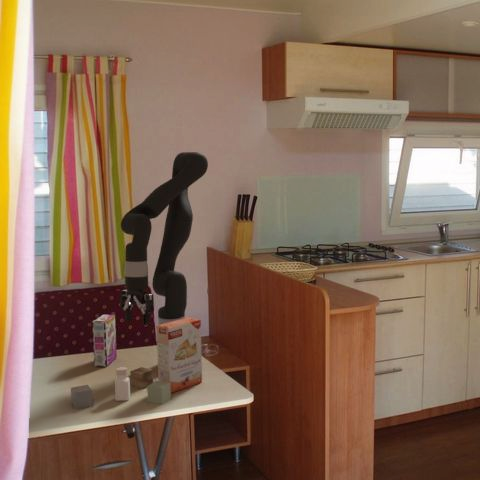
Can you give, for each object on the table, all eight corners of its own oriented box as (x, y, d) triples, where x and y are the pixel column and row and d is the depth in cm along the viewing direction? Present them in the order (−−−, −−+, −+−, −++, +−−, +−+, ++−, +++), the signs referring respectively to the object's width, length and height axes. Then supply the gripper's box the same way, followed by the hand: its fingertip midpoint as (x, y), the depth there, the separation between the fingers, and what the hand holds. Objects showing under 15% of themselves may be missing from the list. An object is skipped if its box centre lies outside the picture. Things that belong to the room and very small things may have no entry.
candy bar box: (107, 367, 232) (105, 321, 230) (93, 367, 233) (91, 321, 231) (117, 357, 243) (115, 314, 241) (104, 357, 244) (102, 313, 242)
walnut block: (142, 381, 216) (141, 367, 216) (153, 384, 213) (152, 369, 213) (131, 386, 212) (130, 371, 212) (142, 389, 209) (141, 373, 209)
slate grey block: (88, 400, 201) (87, 384, 200) (92, 405, 196) (91, 389, 196) (71, 403, 198) (70, 387, 198) (75, 409, 194) (74, 392, 193)
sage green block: (156, 396, 202) (155, 380, 202) (170, 398, 200) (170, 382, 200) (148, 402, 198) (147, 386, 197) (162, 404, 196) (162, 388, 195)
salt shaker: (115, 401, 199) (113, 370, 198) (117, 396, 203) (116, 366, 202) (128, 401, 199) (127, 370, 198) (130, 396, 203) (129, 366, 202)
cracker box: (170, 394, 204) (168, 327, 201) (158, 390, 208) (155, 324, 205) (203, 382, 214) (201, 318, 211) (190, 378, 218) (188, 316, 215)
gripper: (159, 275, 216) (160, 324, 218) (131, 271, 226) (131, 318, 227) (142, 277, 211) (142, 328, 212) (113, 273, 220) (114, 321, 221)
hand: (136, 323), depth 220 cm, fingers open, 8 cm apart
